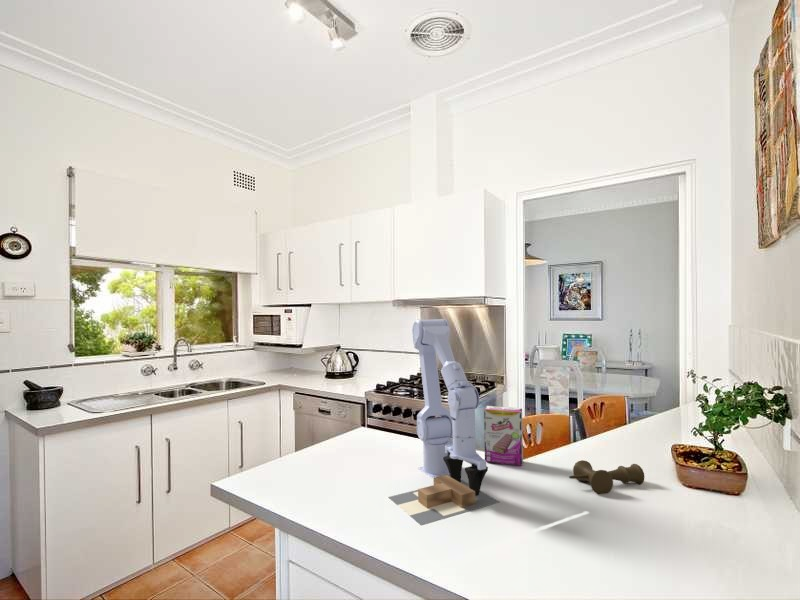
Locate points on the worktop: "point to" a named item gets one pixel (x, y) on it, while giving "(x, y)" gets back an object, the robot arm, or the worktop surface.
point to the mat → (438, 512)
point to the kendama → (606, 476)
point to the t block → (446, 493)
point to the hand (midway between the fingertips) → (465, 489)
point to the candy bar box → (503, 435)
